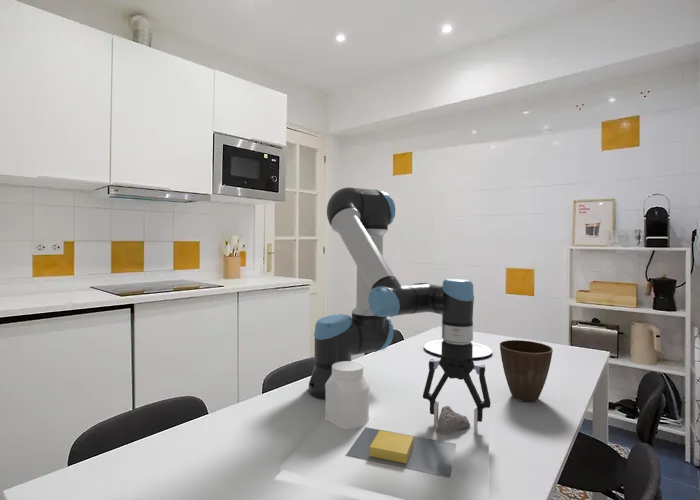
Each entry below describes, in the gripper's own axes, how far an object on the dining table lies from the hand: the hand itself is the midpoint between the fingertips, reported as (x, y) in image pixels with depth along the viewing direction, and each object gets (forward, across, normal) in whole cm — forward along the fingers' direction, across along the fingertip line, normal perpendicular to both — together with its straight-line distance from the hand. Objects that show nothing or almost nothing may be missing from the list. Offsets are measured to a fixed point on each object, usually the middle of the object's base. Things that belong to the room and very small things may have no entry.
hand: (455, 430), depth 99 cm
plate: (0, -6, +77) cm, 77 cm away
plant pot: (0, +18, +30) cm, 35 cm away
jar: (+1, -27, -6) cm, 28 cm away
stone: (+1, -2, 0) cm, 2 cm away
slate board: (0, -10, -16) cm, 19 cm away
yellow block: (-2, -12, -13) cm, 18 cm away
